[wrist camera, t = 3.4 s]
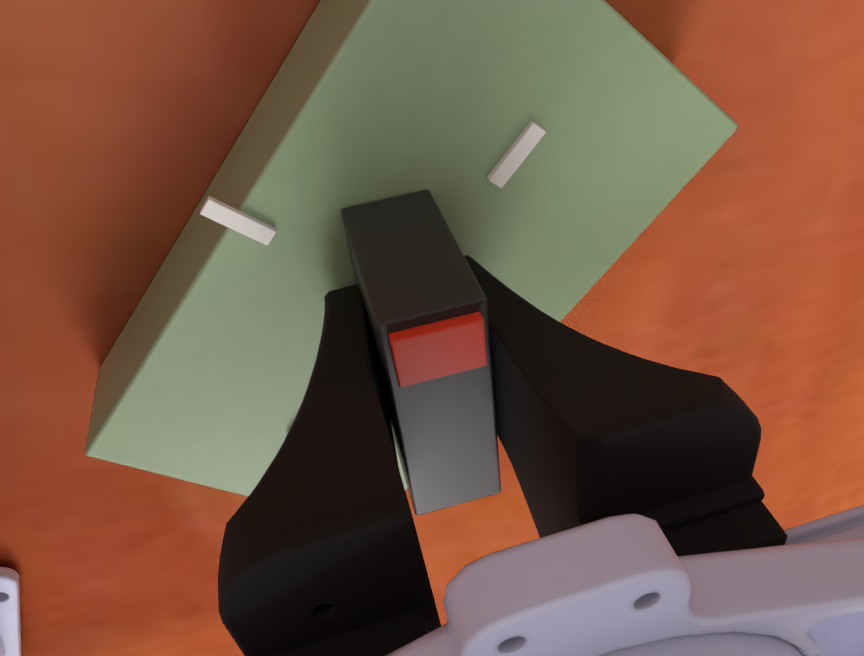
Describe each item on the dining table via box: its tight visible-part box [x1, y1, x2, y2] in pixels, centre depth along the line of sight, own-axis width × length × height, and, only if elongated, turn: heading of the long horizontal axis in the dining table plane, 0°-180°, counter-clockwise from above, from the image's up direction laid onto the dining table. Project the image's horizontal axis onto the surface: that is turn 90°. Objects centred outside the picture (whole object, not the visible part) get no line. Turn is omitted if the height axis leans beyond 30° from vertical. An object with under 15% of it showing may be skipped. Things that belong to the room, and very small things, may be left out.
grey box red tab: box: [341, 190, 501, 515], centre depth 14 cm, size 5×2×4 cm, turn 6°
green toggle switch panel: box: [85, 0, 738, 496], centre depth 17 cm, size 14×9×3 cm, turn 142°
